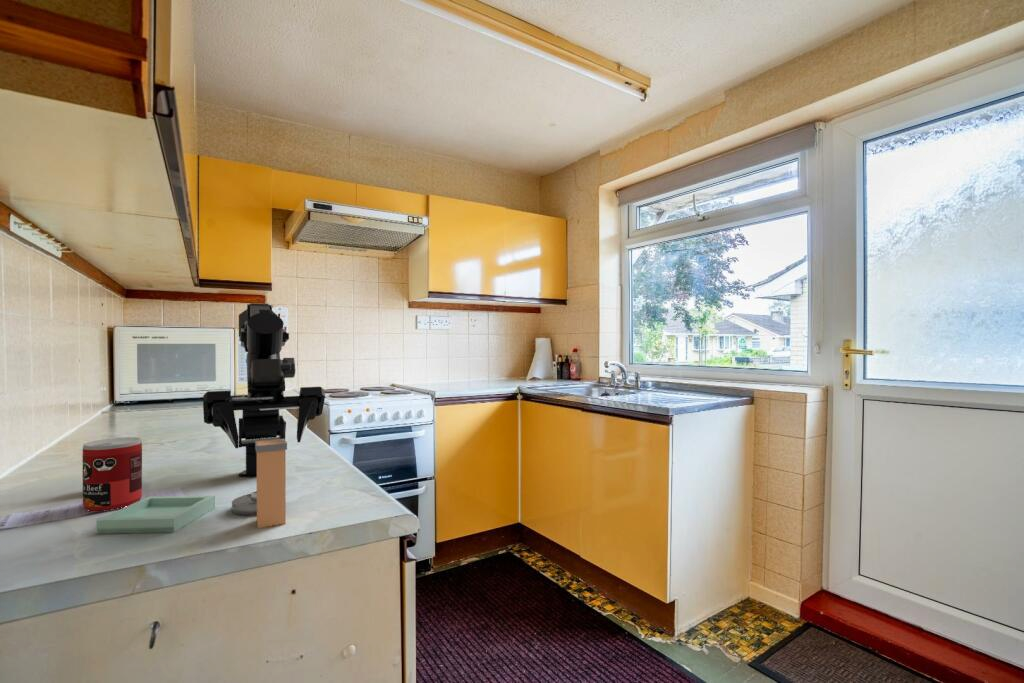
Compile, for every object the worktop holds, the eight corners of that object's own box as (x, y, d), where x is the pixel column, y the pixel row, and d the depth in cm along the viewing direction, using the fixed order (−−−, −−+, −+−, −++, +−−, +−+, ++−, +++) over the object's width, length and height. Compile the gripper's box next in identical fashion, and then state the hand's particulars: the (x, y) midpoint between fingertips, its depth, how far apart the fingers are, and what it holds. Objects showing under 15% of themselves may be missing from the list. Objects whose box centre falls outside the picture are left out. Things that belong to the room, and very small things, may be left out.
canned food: (73, 508, 83) (73, 443, 83) (128, 495, 90) (128, 435, 90) (95, 515, 80) (95, 447, 80) (150, 501, 87) (150, 439, 87)
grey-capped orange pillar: (255, 520, 78) (255, 441, 78) (284, 515, 80) (284, 438, 80) (256, 529, 74) (256, 446, 74) (287, 523, 76) (287, 443, 76)
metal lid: (246, 500, 87) (246, 486, 87) (292, 499, 88) (292, 485, 88) (222, 516, 79) (222, 500, 79) (272, 515, 80) (272, 499, 80)
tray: (148, 508, 83) (148, 496, 83) (215, 507, 84) (215, 495, 84) (96, 533, 72) (96, 520, 72) (174, 532, 73) (174, 518, 73)
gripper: (203, 342, 81) (200, 417, 71) (323, 342, 90) (334, 409, 81) (205, 387, 88) (202, 461, 78) (316, 382, 97) (326, 448, 87)
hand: (268, 443), depth 81 cm, fingers open, 9 cm apart
